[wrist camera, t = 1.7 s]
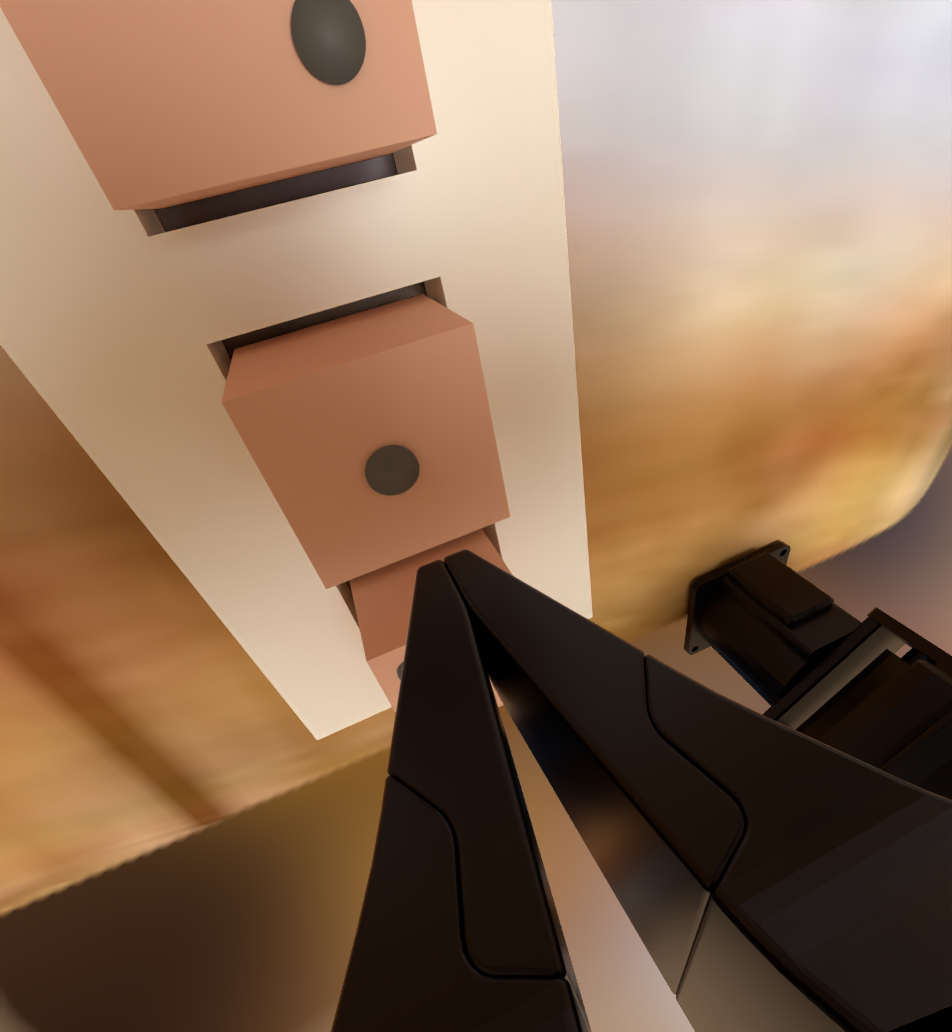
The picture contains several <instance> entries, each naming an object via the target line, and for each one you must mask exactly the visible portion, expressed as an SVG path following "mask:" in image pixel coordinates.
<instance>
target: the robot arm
mask: <svg viewBox="0 0 952 1032" xmlns="http://www.w3.org/2000/svg"><path fill="white" fill-rule="evenodd" d="M789 552H790V546H789V545H787V544H786V543H784V542H779V543H777V544H775V545H772V546H770V547H768V548H766V549H764V550H761V551H759V552H757V553H755V554H753V555H750V556H748V557H746V558H744V559H741V560H739V561H737V562H735V563H733V564H730V565H728V566H726V567H724V568H721V569H719V570H717V571H715V572H713V573H710V574H708V575H706V576H704V577H702V578H699V579H698V580H696V581H695V582H694V583H693V585H692V587H691V593H690V602H689V610H688V618H687V627H686V636H685V644H684V649H685V650H686V651H687V652H688V653H689V654H690V655H692V654H695V653H697V652H699V651H701V650H703V649H705V648H707V647H709V646H712V647H713V648H714V649H715V650H716V651H717V652H718V653H719V654H720V655H721V656H722V657H723V658H724V659H725V660H726V661H727V662H728V663H729V664H730V665H731V666H732V667H733V668H734V669H735V670H736V671H737V672H738V673H739V674H740V675H741V676H742V677H743V678H744V679H745V680H746V681H747V682H748V683H749V684H750V685H751V686H752V687H753V688H754V689H755V690H756V691H757V692H758V693H759V694H760V695H761V696H762V697H763V698H764V699H765V700H766V701H767V702H768V703H769V704H770V705H771V707H770V708H769V709H768V710H767V711H766V712H765V713H764V714H762V715H761V714H760V713H757V712H755V711H753V710H751V709H749V708H747V707H745V706H743V705H741V704H739V703H737V702H735V701H732V700H731V699H729V698H727V697H725V696H723V695H721V694H719V693H716V692H714V691H713V690H711V689H709V688H707V687H706V686H704V685H702V684H700V683H698V682H696V681H695V680H693V679H691V678H689V677H687V676H686V675H684V674H682V673H680V672H678V671H676V670H674V669H673V668H671V667H669V666H668V665H666V664H664V663H662V662H661V661H659V660H657V659H656V658H654V657H652V656H651V655H646V656H645V658H644V652H643V651H641V650H640V649H638V648H637V647H635V646H633V645H631V644H630V643H628V642H626V641H624V640H623V639H621V638H619V637H618V636H616V635H614V634H612V633H611V632H609V631H607V630H606V629H604V628H602V627H600V626H599V625H597V624H595V623H594V622H592V621H590V620H588V619H587V618H585V617H583V616H582V615H580V614H578V613H576V612H575V611H573V610H571V609H569V608H568V607H566V606H564V605H563V604H561V603H559V602H557V601H556V600H554V599H552V598H551V597H549V596H547V595H545V594H544V593H542V592H540V591H539V590H537V589H535V588H533V587H532V586H530V585H528V584H526V583H525V582H523V581H521V580H520V579H518V578H516V577H514V576H513V575H511V574H509V573H508V572H506V571H504V570H502V569H501V568H499V567H497V566H496V565H494V564H492V563H490V562H489V561H487V560H485V559H483V558H482V557H480V556H478V555H477V554H475V553H473V552H471V551H470V550H467V549H464V550H461V551H458V552H456V553H453V554H451V555H448V556H446V557H445V558H444V562H443V561H442V560H436V561H433V562H430V563H428V564H425V565H423V566H421V567H419V568H418V570H417V573H416V580H415V587H414V593H413V600H412V607H411V614H410V621H409V627H408V634H407V641H406V648H405V654H404V661H403V668H402V675H401V681H400V688H399V695H398V702H397V709H396V715H395V722H394V729H393V736H392V742H391V749H390V756H389V763H388V769H387V772H388V774H389V775H390V776H388V777H387V778H386V781H385V788H384V794H383V801H382V808H381V814H380V820H379V826H378V831H377V837H376V842H375V848H374V854H373V860H372V865H371V869H370V874H369V878H368V882H367V887H366V891H365V896H364V900H363V904H362V909H361V913H360V917H359V922H358V926H357V930H356V935H355V938H354V942H353V947H352V951H351V954H350V959H349V962H348V966H347V970H346V974H345V978H344V982H343V986H342V990H341V994H340V998H339V1002H338V1005H337V1010H336V1013H335V1017H334V1021H333V1025H332V1030H331V1032H591V1028H590V1025H589V1021H588V1018H587V1015H586V1011H585V1007H584V1004H583V1001H582V998H581V994H580V990H579V987H578V983H577V980H576V976H575V973H574V969H573V966H572V962H571V959H570V956H569V952H568V948H567V945H566V941H565V938H564V935H563V931H562V927H561V925H560V920H559V917H558V914H557V910H556V907H555V903H554V900H553V896H552V893H551V889H550V886H549V882H548V879H547V875H546V872H545V868H544V865H543V861H542V858H541V854H540V851H539V848H538V844H537V840H536V837H535V834H534V830H533V827H532V823H531V819H530V816H529V813H528V809H527V806H526V802H525V799H524V795H523V792H522V789H521V785H520V781H519V778H518V774H517V771H516V767H515V764H514V760H513V757H512V754H511V750H510V746H509V743H508V739H507V736H506V732H505V729H504V725H503V722H502V719H501V716H500V712H499V708H498V705H497V701H496V698H495V695H494V691H493V688H492V685H493V687H494V688H495V690H496V692H497V694H498V696H499V698H500V699H501V701H502V703H503V704H504V706H505V708H506V709H507V711H508V713H509V715H510V716H511V718H512V720H513V721H514V723H515V725H516V727H517V728H518V730H519V732H520V733H521V735H522V737H523V739H524V740H525V742H526V744H527V745H528V747H529V749H530V750H531V752H532V754H533V756H534V757H535V759H536V761H537V762H538V764H539V766H540V767H541V769H542V771H543V773H544V774H545V776H546V778H547V779H548V781H549V783H550V785H551V786H552V787H553V790H554V791H555V793H556V794H557V796H558V798H559V800H560V802H561V803H562V805H563V807H564V808H565V810H566V812H567V813H568V815H569V817H570V819H571V820H572V822H573V824H574V825H575V827H576V829H577V830H578V832H579V834H580V835H581V837H582V839H583V841H584V843H585V844H586V846H587V848H588V849H589V851H590V853H591V854H592V856H593V858H594V860H595V861H596V863H597V865H598V866H599V868H600V870H601V871H602V873H603V875H604V877H605V878H606V880H607V882H608V883H609V885H610V887H611V888H612V890H613V892H614V893H615V895H616V897H617V899H618V900H619V902H620V904H621V906H622V907H623V909H624V910H625V912H626V914H627V916H628V917H629V919H630V921H631V923H632V924H633V926H634V928H635V930H636V931H637V933H638V935H639V936H640V938H641V940H642V941H643V943H644V945H645V947H646V948H647V950H648V952H649V953H650V955H651V957H652V959H653V960H654V962H655V964H656V965H657V967H658V969H659V970H660V972H661V974H662V976H663V977H664V979H665V981H666V982H667V984H668V986H669V987H670V989H671V991H672V992H673V994H677V995H676V999H677V1001H678V1003H679V1005H680V1007H681V1008H682V1010H683V1012H684V1013H685V1015H686V1017H687V1018H688V1020H689V1022H690V1023H691V1025H692V1027H693V1028H694V1030H695V1032H952V656H951V655H949V654H948V653H946V652H945V651H943V650H942V649H940V648H938V647H937V646H935V645H934V644H932V643H931V642H929V641H928V640H926V639H924V638H923V637H921V636H920V635H918V634H917V633H915V632H914V631H912V630H910V629H909V628H907V627H906V626H904V625H903V624H901V623H900V622H898V621H897V620H895V619H893V618H892V617H890V616H889V615H887V614H886V613H884V612H883V611H881V610H879V609H878V608H876V607H875V608H874V609H873V610H872V611H871V612H870V613H869V614H868V616H869V617H868V618H867V619H866V620H864V621H863V622H862V623H861V622H860V621H858V620H857V619H856V618H854V617H853V616H851V615H850V614H849V613H847V612H846V611H844V610H843V609H842V608H840V607H839V606H837V605H836V604H834V599H833V598H832V597H831V596H829V595H828V594H827V593H825V592H824V591H822V590H821V589H819V588H818V587H816V586H815V585H814V584H812V583H811V582H809V581H808V580H806V579H805V578H804V577H802V576H801V575H799V574H798V573H797V572H795V571H794V570H792V569H791V568H789V567H788V566H786V563H787V560H788V556H789ZM904 644H907V645H908V646H910V647H911V648H912V649H911V650H910V651H908V652H907V653H906V654H905V655H904V656H903V657H902V658H900V657H898V656H897V655H895V654H894V653H895V652H896V651H898V650H899V649H900V648H901V647H902V646H903V645H904ZM490 680H491V682H492V685H491V682H490Z"/></svg>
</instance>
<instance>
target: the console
mask: <svg viewBox="0 0 952 1032" xmlns="http://www.w3.org/2000/svg"><path fill="white" fill-rule="evenodd" d="M412 5H413V10H414V16H415V21H416V26H417V31H418V36H419V42H420V47H421V52H422V57H423V63H424V68H425V73H426V78H427V84H428V89H429V94H430V99H431V104H432V110H433V115H434V120H435V125H436V131H437V134H436V135H434V136H431V137H429V138H427V139H424V140H422V141H419V142H417V143H415V144H412V145H410V146H408V147H405V148H403V149H400V150H398V151H396V152H393V156H394V160H395V165H396V169H397V173H398V175H394V176H390V177H386V178H382V179H378V180H374V181H370V182H366V183H362V184H358V185H354V186H350V187H345V188H341V189H337V190H333V191H329V192H325V193H321V194H317V195H313V196H309V197H305V198H301V199H297V200H293V201H289V202H285V203H281V204H277V205H273V206H269V207H265V208H261V209H257V210H253V211H249V212H245V213H241V214H237V215H232V216H228V217H224V218H220V219H216V220H212V221H208V222H204V223H200V224H196V225H192V226H188V227H184V228H180V229H176V230H172V231H168V232H165V230H164V228H163V227H162V225H161V223H160V221H159V219H158V217H157V215H156V213H155V211H154V209H136V210H114V209H113V208H112V206H111V204H110V202H109V201H108V199H107V197H106V195H105V193H104V192H103V190H102V188H101V186H100V184H99V183H98V181H97V179H96V177H95V176H94V174H93V172H92V170H91V168H90V167H89V165H88V163H87V161H86V159H85V158H84V156H83V154H82V152H81V151H80V149H79V147H78V145H77V143H76V142H75V140H74V138H73V136H72V134H71V133H70V131H69V129H68V127H67V126H66V124H65V122H64V120H63V118H62V117H61V115H60V113H59V111H58V109H57V108H56V106H55V104H54V102H53V101H52V99H51V97H50V95H49V93H48V92H47V90H46V88H45V86H44V84H43V83H42V81H41V79H40V77H39V76H38V74H37V72H36V70H35V68H34V67H33V65H32V63H31V61H30V59H29V58H28V56H27V54H26V52H25V51H24V49H23V47H22V45H21V43H20V42H19V40H18V38H17V36H16V34H15V33H14V31H13V29H12V27H11V26H10V24H9V22H8V20H7V18H6V17H5V15H4V13H3V11H2V9H1V8H0V346H1V347H2V348H3V349H4V351H5V352H6V353H7V354H8V355H9V357H10V358H11V359H12V360H13V362H14V363H15V364H16V365H17V367H18V368H19V369H20V370H21V372H22V373H23V374H24V375H25V377H26V378H27V379H28V380H29V382H30V383H31V384H32V385H33V387H34V388H35V389H36V390H37V392H38V393H39V394H40V395H41V397H42V398H43V399H44V400H45V402H46V403H47V404H48V405H49V407H50V408H51V409H52V410H53V412H54V413H55V414H56V415H57V417H58V418H59V419H60V420H61V422H62V423H63V424H64V425H65V427H66V428H67V429H68V430H69V432H70V433H71V434H72V435H73V437H74V438H75V439H76V440H77V442H78V443H79V444H80V445H81V446H82V448H83V449H84V450H85V451H86V453H87V454H88V455H89V456H90V458H91V459H92V460H93V461H94V463H95V464H96V465H97V466H98V468H99V469H100V470H101V471H102V473H103V474H104V475H105V476H106V478H107V479H108V480H109V481H110V483H111V484H112V485H113V486H114V488H115V489H116V490H117V491H118V493H119V494H120V495H121V496H122V498H123V499H124V500H125V501H126V503H127V504H128V505H129V506H130V508H131V509H132V510H133V511H134V513H135V514H136V515H137V516H138V518H139V519H140V520H141V521H142V523H143V524H144V525H145V526H146V528H147V529H148V530H149V531H150V533H151V534H152V535H153V536H154V538H155V539H156V540H157V541H158V542H159V544H160V545H161V546H162V547H163V549H164V550H165V551H166V552H167V554H168V555H169V556H170V557H171V559H172V560H173V561H174V562H175V564H176V565H177V566H178V567H179V569H180V570H181V571H182V572H183V574H184V575H185V576H186V577H187V579H188V580H189V581H190V582H191V584H192V585H193V586H194V587H195V589H196V590H197V591H198V592H199V594H200V595H201V596H202V597H203V599H204V600H205V601H206V602H207V604H208V605H209V606H210V607H211V609H212V610H213V611H214V612H215V614H216V615H217V616H218V617H219V619H220V620H221V621H222V622H223V624H224V625H225V626H226V627H227V629H228V630H229V631H230V632H231V633H232V635H233V636H234V637H235V638H236V640H237V641H238V642H239V643H240V645H241V646H242V647H243V648H244V650H245V651H246V652H247V653H248V655H249V656H250V657H251V658H252V660H253V661H254V662H255V663H256V665H257V666H258V667H259V668H260V670H261V671H262V672H263V673H264V675H265V676H266V677H267V678H268V680H269V681H270V682H271V683H272V685H273V686H274V687H275V688H276V690H277V691H278V692H279V693H280V695H281V696H282V697H283V698H284V700H285V701H286V702H287V703H288V705H289V706H290V707H291V708H292V710H293V711H294V712H295V713H296V715H297V716H298V717H299V718H300V720H301V721H302V722H303V723H304V725H305V726H306V727H307V728H308V729H309V731H310V732H311V733H312V734H313V736H314V737H315V738H316V739H317V740H319V739H321V738H324V737H326V736H328V735H330V734H332V733H335V732H337V731H339V730H341V729H344V728H346V727H348V726H350V725H353V724H355V723H357V722H359V721H362V720H364V719H366V718H368V717H371V716H373V715H375V714H377V713H379V712H382V711H384V710H386V709H388V708H391V707H392V706H391V704H390V702H389V701H388V699H387V697H386V695H385V694H384V692H383V690H382V688H381V686H380V685H379V683H378V681H377V679H376V677H375V676H374V674H373V672H372V670H371V669H370V667H369V665H368V663H367V661H366V656H365V652H364V647H363V642H362V638H361V633H360V628H359V623H358V619H357V614H356V609H355V605H354V600H353V595H352V593H351V591H350V589H349V587H348V585H347V583H346V582H344V583H341V584H339V585H336V586H333V587H331V588H328V589H326V588H325V586H324V585H323V583H322V581H321V579H320V577H319V576H318V574H317V572H316V570H315V568H314V567H313V565H312V563H311V561H310V560H309V558H308V556H307V554H306V552H305V551H304V549H303V547H302V545H301V543H300V542H299V540H298V538H297V536H296V535H295V533H294V531H293V529H292V527H291V526H290V524H289V522H288V520H287V518H286V517H285V515H284V513H283V511H282V510H281V508H280V506H279V504H278V502H277V501H276V499H275V497H274V495H273V493H272V492H271V490H270V488H269V486H268V485H267V483H266V481H265V479H264V477H263V476H262V474H261V472H260V470H259V468H258V467H257V465H256V463H255V461H254V460H253V458H252V456H251V454H250V452H249V451H248V449H247V447H246V445H245V443H244V442H243V440H242V438H241V436H240V435H239V433H238V431H237V429H236V427H235V426H234V424H233V422H232V420H231V418H230V417H229V415H228V413H227V411H226V410H225V408H224V406H223V404H222V402H221V401H222V397H223V393H224V389H225V385H226V381H227V377H228V373H229V369H230V364H231V358H230V356H229V354H228V352H227V351H226V349H225V347H224V345H223V343H222V341H221V340H224V339H227V338H231V337H234V336H238V335H241V334H244V333H248V332H251V331H255V330H258V329H262V328H265V327H268V326H272V325H275V324H279V323H282V322H286V321H289V320H293V319H296V318H299V317H303V316H306V315H310V314H313V313H317V312H320V311H323V310H327V309H330V308H334V307H337V306H341V305H344V304H348V303H351V302H354V301H358V300H361V299H365V298H368V297H372V296H375V295H379V294H382V293H385V292H389V291H392V290H396V289H399V288H403V287H406V286H409V285H413V284H416V283H420V282H423V281H424V285H425V289H426V293H427V297H429V298H431V299H433V300H434V301H436V302H438V303H439V304H441V305H443V306H445V307H446V308H448V309H450V310H451V311H453V312H455V313H457V314H458V315H460V316H462V317H463V318H465V319H467V320H469V321H470V322H472V323H473V324H474V329H475V335H476V340H477V345H478V350H479V356H480V361H481V366H482V371H483V376H484V382H485V387H486V392H487V397H488V403H489V408H490V413H491V418H492V424H493V429H494V434H495V439H496V444H497V450H498V455H499V460H500V465H501V471H502V476H503V481H504V486H505V492H506V497H507V502H508V507H509V512H510V517H509V518H506V519H504V520H501V521H499V522H496V523H494V524H491V525H489V526H486V527H483V530H484V532H485V534H486V535H487V537H488V538H489V540H490V541H491V543H492V544H493V546H494V547H495V549H496V550H497V552H498V553H499V555H500V557H501V558H502V560H503V561H504V563H505V564H506V566H507V567H508V569H509V570H510V572H511V573H512V575H513V576H514V577H516V578H518V579H520V580H521V581H523V582H525V583H526V584H528V585H530V586H532V587H533V588H535V589H537V590H539V591H540V592H542V593H544V594H545V595H547V596H549V597H551V598H552V599H554V600H556V601H557V602H559V603H561V604H563V605H564V606H566V607H568V608H569V609H571V610H573V611H575V612H576V613H578V614H580V615H582V616H583V617H585V618H587V619H590V618H592V617H593V616H592V601H591V586H590V571H589V556H588V541H587V526H586V511H585V497H584V482H583V467H582V452H581V437H580V422H579V407H578V393H577V378H576V363H575V348H574V333H573V318H572V303H571V288H570V274H569V259H568V244H567V229H566V214H565V199H564V184H563V169H562V155H561V140H560V125H559V110H558V95H557V80H556V65H555V51H554V36H553V21H552V6H551V0H412Z"/></svg>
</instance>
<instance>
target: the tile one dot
mask: <svg viewBox="0 0 952 1032" xmlns="http://www.w3.org/2000/svg"><path fill="white" fill-rule="evenodd" d="M221 402H222V404H223V406H224V408H225V410H226V411H227V413H228V415H229V417H230V418H231V420H232V422H233V424H234V426H235V427H236V429H237V431H238V433H239V435H240V436H241V438H242V440H243V442H244V443H245V445H246V447H247V449H248V451H249V452H250V454H251V456H252V458H253V460H254V461H255V463H256V465H257V467H258V468H259V470H260V472H261V474H262V476H263V477H264V479H265V481H266V483H267V485H268V486H269V488H270V490H271V492H272V493H273V495H274V497H275V499H276V501H277V502H278V504H279V506H280V508H281V510H282V511H283V513H284V515H285V517H286V518H287V520H288V522H289V524H290V526H291V527H292V529H293V531H294V533H295V535H296V536H297V538H298V540H299V542H300V543H301V545H302V547H303V549H304V551H305V552H306V554H307V556H308V558H309V560H310V561H311V563H312V565H313V567H314V568H315V570H316V572H317V574H318V576H319V577H320V579H321V581H322V583H323V585H324V586H325V588H326V589H328V588H331V587H333V586H336V585H339V584H341V583H344V582H346V581H349V580H351V579H354V578H356V577H359V576H361V575H364V574H366V573H369V572H372V571H374V570H377V569H379V568H382V567H384V566H387V565H389V564H392V563H394V562H397V561H400V560H402V559H405V558H407V557H410V556H412V555H415V554H417V553H420V552H422V551H425V550H428V549H430V548H433V547H435V546H438V545H440V544H443V543H445V542H448V541H450V540H453V539H456V538H458V537H461V536H463V535H466V534H468V533H471V532H473V531H476V530H478V529H481V528H483V527H486V526H489V525H491V524H494V523H496V522H499V521H501V520H504V519H506V518H509V517H510V512H509V507H508V502H507V497H506V492H505V486H504V481H503V476H502V471H501V465H500V460H499V455H498V450H497V444H496V439H495V434H494V429H493V424H492V418H491V413H490V408H489V403H488V397H487V392H486V387H485V382H484V376H483V371H482V366H481V361H480V356H479V350H478V345H477V340H476V335H475V329H474V324H473V323H472V322H470V321H469V320H467V319H465V318H463V317H462V316H460V315H458V314H457V313H455V312H453V311H451V310H450V309H448V308H446V307H445V306H443V305H441V304H439V303H438V302H436V301H434V300H433V299H431V298H429V297H427V296H426V295H424V294H420V295H416V296H413V297H409V298H406V299H403V300H399V301H396V302H393V303H389V304H386V305H382V306H379V307H376V308H372V309H369V310H365V311H362V312H359V313H355V314H352V315H349V316H345V317H342V318H338V319H335V320H332V321H328V322H325V323H321V324H318V325H315V326H311V327H308V328H305V329H301V330H298V331H294V332H291V333H288V334H284V335H281V336H277V337H274V338H271V339H267V340H264V341H260V342H257V343H254V344H250V345H247V346H244V347H240V348H237V349H234V352H233V356H232V360H231V364H230V369H229V373H228V377H227V381H226V385H225V389H224V393H223V397H222V401H221Z"/></svg>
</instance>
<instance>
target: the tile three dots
mask: <svg viewBox="0 0 952 1032" xmlns="http://www.w3.org/2000/svg"><path fill="white" fill-rule="evenodd" d="M464 549H467V550H470V551H471V552H473V553H475V554H477V555H478V556H480V557H482V558H483V559H485V560H487V561H489V562H490V563H492V564H494V565H496V566H497V567H499V568H501V569H502V570H504V571H506V572H508V573H509V574H511V575H512V573H511V572H510V570H509V569H508V567H507V566H506V564H505V563H504V561H503V560H502V558H501V557H500V555H499V553H498V552H497V550H496V549H495V547H494V546H493V544H492V543H491V541H490V540H489V538H488V537H487V535H486V534H485V532H484V531H483V529H482V528H481V529H478V530H476V531H473V532H471V533H468V534H466V535H463V536H461V537H458V538H456V539H453V540H450V541H448V542H445V543H443V544H440V545H438V546H435V547H433V548H430V549H428V550H425V551H422V552H420V553H417V554H415V555H412V556H410V557H407V558H405V559H402V560H400V561H397V562H394V563H392V564H389V565H387V566H384V567H382V568H379V569H377V570H374V571H372V572H369V573H366V574H364V575H361V576H359V577H356V578H354V579H351V580H349V581H350V586H351V590H352V595H353V600H354V605H355V609H356V614H357V619H358V623H359V628H360V633H361V638H362V642H363V647H364V652H365V656H366V661H367V663H368V665H369V667H370V669H371V670H372V672H373V674H374V676H375V677H376V679H377V681H378V683H379V685H380V686H381V688H382V690H383V692H384V694H385V695H386V697H387V699H388V701H389V702H390V704H391V706H392V708H393V710H394V711H395V713H396V709H397V702H398V695H399V688H400V681H401V675H402V668H403V661H404V654H405V648H406V641H407V634H408V627H409V621H410V614H411V607H412V600H413V593H414V587H415V580H416V573H417V570H418V568H419V567H421V566H423V565H425V564H428V563H430V562H433V561H436V560H442V561H443V562H444V558H445V557H446V556H448V555H451V554H453V553H456V552H458V551H461V550H464ZM490 682H491V680H490ZM491 685H492V682H491ZM492 688H493V691H494V695H495V698H496V701H497V705H498V707H500V706H502V705H504V704H503V703H502V701H501V699H500V698H499V696H498V694H497V692H496V690H495V688H494V687H493V685H492Z"/></svg>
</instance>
